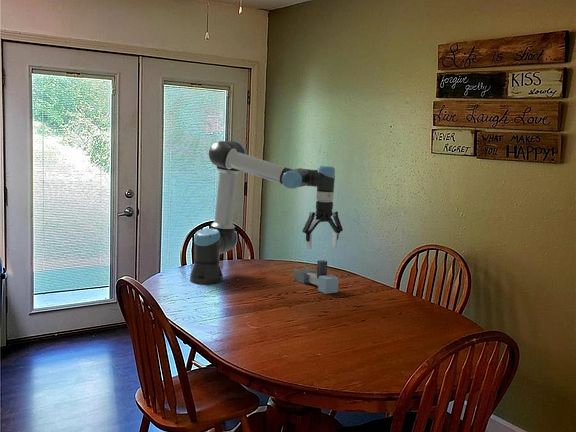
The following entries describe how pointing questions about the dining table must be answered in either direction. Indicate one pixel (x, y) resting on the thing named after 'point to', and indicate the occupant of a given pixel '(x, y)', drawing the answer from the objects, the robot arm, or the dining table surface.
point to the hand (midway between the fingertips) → (321, 247)
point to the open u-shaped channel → (302, 275)
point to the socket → (328, 284)
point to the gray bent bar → (320, 272)
